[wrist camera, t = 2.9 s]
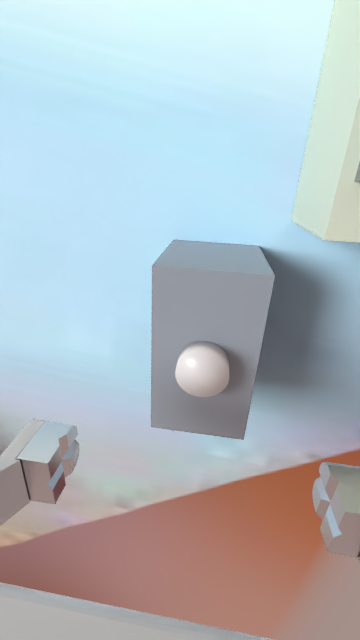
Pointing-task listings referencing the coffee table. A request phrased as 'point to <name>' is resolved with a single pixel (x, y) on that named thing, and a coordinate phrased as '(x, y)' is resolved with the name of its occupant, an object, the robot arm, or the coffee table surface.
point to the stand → (334, 136)
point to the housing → (207, 335)
